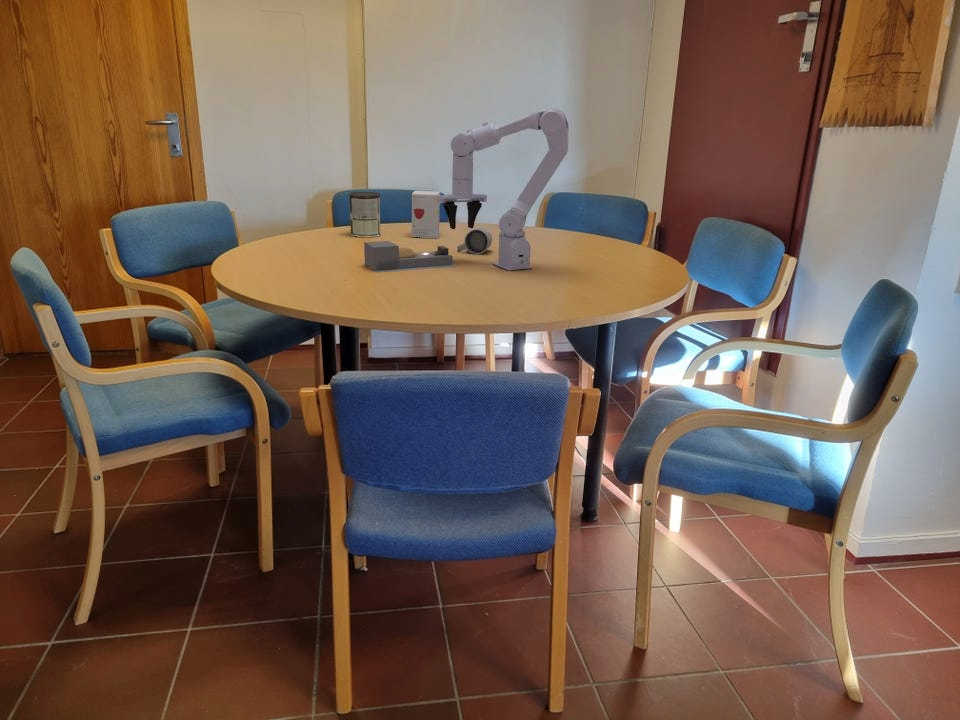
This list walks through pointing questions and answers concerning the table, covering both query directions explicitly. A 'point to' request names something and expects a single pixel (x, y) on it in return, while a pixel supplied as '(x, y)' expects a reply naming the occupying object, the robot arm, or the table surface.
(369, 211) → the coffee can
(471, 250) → the ceramic mug
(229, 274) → the table surface
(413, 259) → the grey slotted fixture
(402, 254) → the block
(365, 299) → the table surface
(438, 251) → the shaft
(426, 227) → the supplement box
